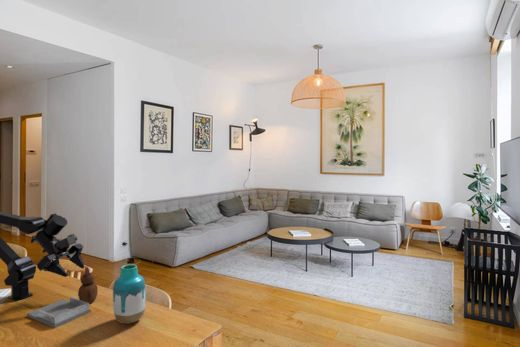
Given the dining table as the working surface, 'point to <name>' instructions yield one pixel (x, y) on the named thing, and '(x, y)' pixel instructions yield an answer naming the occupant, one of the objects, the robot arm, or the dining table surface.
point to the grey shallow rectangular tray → (60, 312)
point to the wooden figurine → (88, 287)
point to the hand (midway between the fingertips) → (75, 271)
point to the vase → (129, 295)
